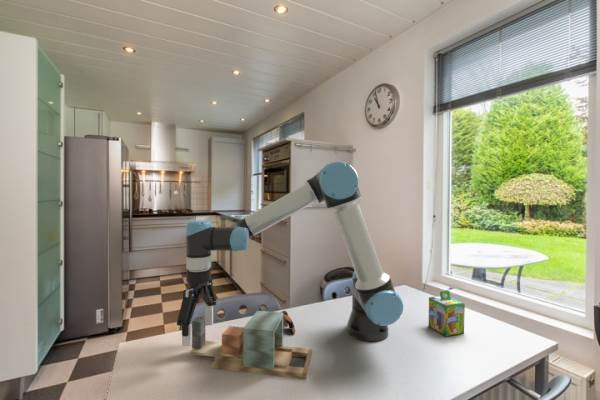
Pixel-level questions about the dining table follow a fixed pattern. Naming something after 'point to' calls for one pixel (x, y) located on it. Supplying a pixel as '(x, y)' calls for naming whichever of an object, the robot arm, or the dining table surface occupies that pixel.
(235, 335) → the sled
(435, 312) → the chalk box
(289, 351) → the tunnel deck
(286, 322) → the pottery mug
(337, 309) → the dining table surface
